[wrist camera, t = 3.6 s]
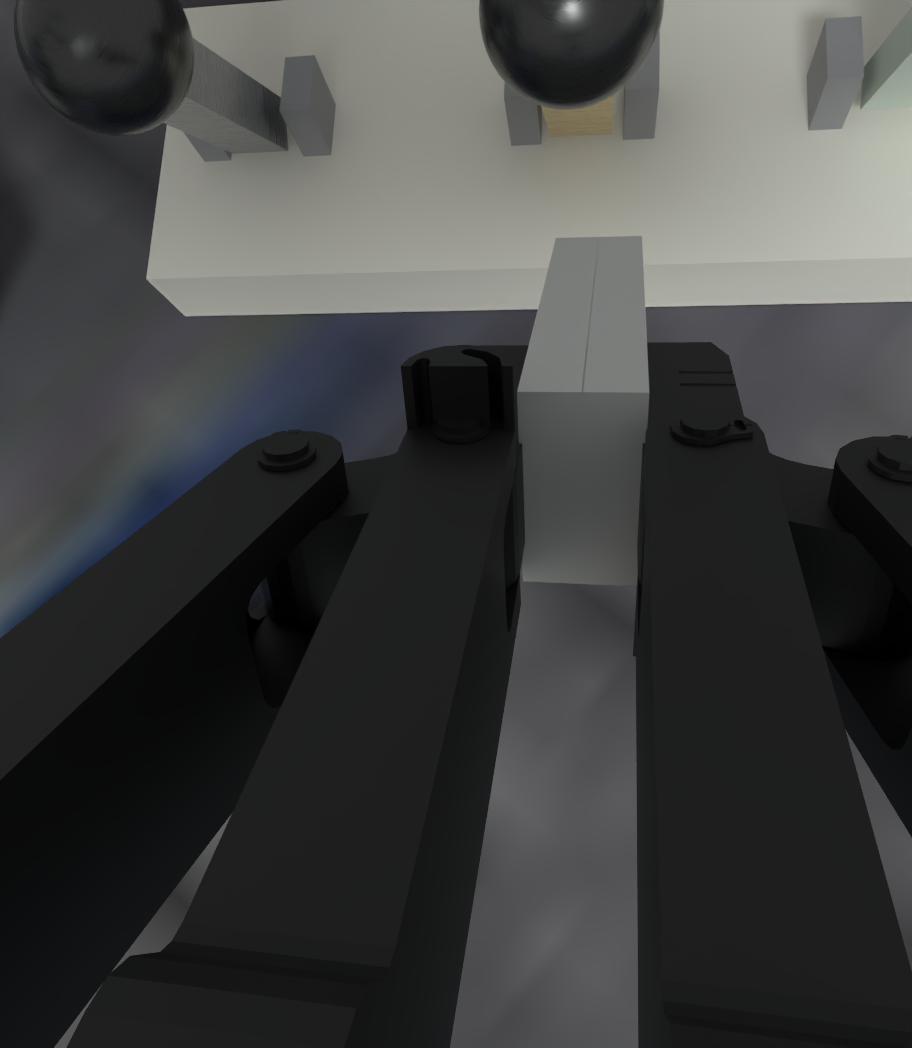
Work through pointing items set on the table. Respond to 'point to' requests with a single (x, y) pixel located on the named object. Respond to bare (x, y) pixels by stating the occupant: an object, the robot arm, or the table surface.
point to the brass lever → (570, 54)
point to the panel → (539, 165)
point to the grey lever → (142, 73)
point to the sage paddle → (890, 71)
